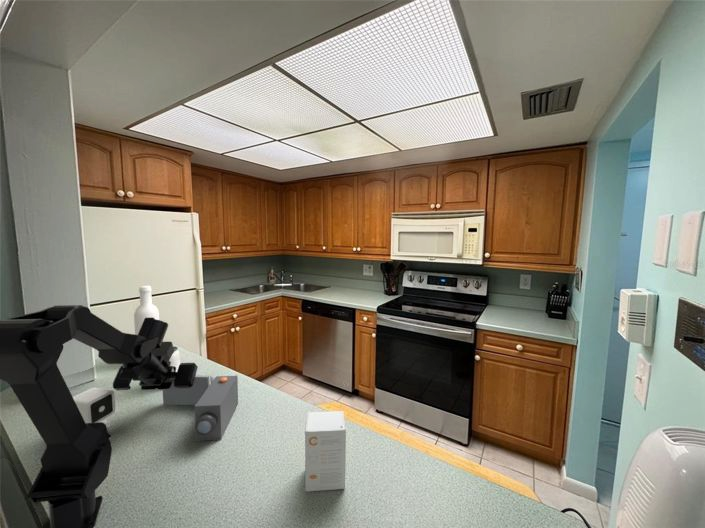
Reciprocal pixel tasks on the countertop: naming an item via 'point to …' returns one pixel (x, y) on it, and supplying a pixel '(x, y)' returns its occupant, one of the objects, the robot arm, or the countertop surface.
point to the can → (175, 359)
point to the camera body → (216, 407)
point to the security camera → (96, 405)
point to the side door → (186, 392)
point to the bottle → (145, 308)
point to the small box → (325, 451)
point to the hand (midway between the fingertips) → (168, 385)
